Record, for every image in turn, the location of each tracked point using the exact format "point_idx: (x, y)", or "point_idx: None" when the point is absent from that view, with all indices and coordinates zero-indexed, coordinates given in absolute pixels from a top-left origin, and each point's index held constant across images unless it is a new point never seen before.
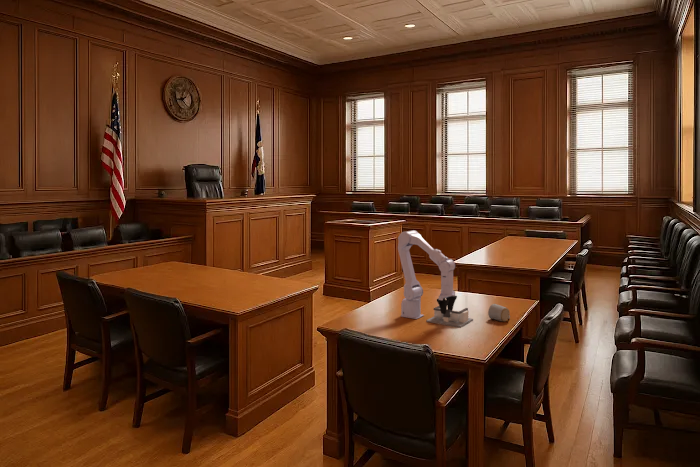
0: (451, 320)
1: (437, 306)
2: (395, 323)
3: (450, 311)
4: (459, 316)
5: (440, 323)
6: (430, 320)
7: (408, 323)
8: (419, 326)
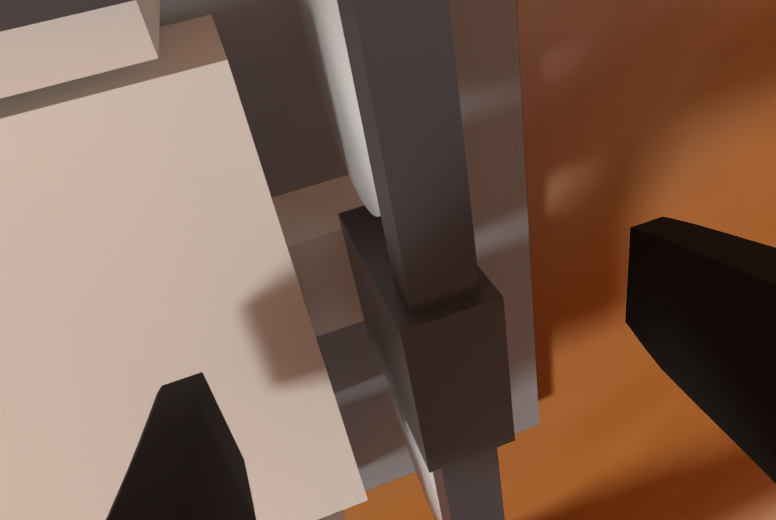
0: (265, 175)
1: None
2: (755, 492)
3: (465, 243)
4: (153, 4)
5: (520, 209)
6: (518, 388)
7: (702, 444)
8: None
